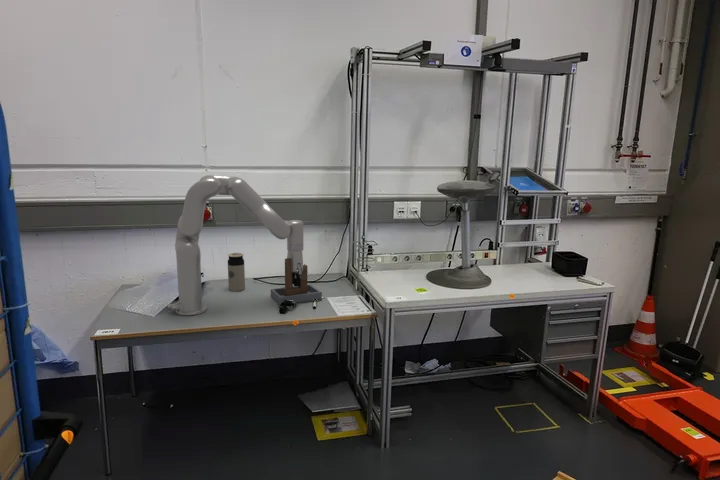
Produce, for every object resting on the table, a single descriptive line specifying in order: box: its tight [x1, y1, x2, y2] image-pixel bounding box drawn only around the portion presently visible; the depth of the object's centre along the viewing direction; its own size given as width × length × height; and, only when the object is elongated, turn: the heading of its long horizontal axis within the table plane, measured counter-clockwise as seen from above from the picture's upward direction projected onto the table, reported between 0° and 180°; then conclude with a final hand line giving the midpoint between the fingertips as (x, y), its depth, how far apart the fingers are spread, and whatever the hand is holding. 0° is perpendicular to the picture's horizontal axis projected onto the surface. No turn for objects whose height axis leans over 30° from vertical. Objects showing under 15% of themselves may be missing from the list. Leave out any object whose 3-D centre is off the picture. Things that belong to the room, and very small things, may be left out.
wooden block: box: [283, 257, 308, 296], centre depth 226 cm, size 4×11×18 cm, turn 120°
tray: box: [270, 283, 323, 306], centre depth 228 cm, size 20×14×4 cm
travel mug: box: [227, 252, 246, 292], centre depth 239 cm, size 8×8×18 cm
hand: (295, 284), depth 227 cm, fingers closed on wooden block, 3 cm apart
